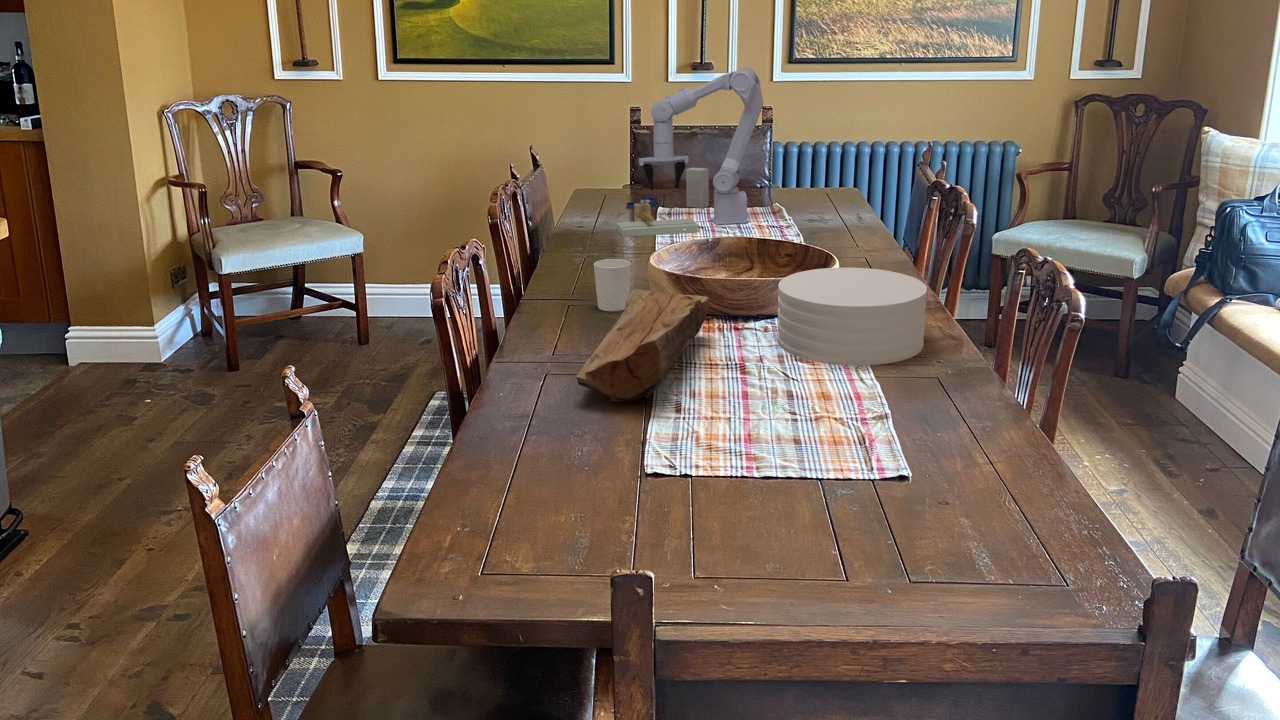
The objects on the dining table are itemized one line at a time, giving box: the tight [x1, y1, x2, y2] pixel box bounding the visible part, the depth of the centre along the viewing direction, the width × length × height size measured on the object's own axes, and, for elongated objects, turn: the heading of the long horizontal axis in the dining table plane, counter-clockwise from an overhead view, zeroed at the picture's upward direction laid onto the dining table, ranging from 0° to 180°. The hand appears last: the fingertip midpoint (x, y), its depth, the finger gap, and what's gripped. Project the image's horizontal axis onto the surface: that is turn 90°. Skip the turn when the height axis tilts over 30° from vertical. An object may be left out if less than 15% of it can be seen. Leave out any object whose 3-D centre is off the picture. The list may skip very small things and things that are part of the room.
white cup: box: [593, 258, 631, 313], centre depth 235 cm, size 8×8×10 cm
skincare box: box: [685, 167, 710, 209], centre depth 339 cm, size 6×4×12 cm
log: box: [575, 288, 710, 402], centre depth 197 cm, size 42×18×15 cm, turn 164°
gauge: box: [633, 202, 654, 222], centre depth 310 cm, size 4×12×6 cm, turn 13°
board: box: [616, 218, 700, 238], centre depth 308 cm, size 22×10×2 cm, turn 100°
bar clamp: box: [625, 196, 659, 210], centre depth 334 cm, size 32×2×10 cm
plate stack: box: [776, 267, 928, 366], centre depth 208 cm, size 28×28×12 cm
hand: (664, 188), depth 320 cm, fingers open, 7 cm apart
